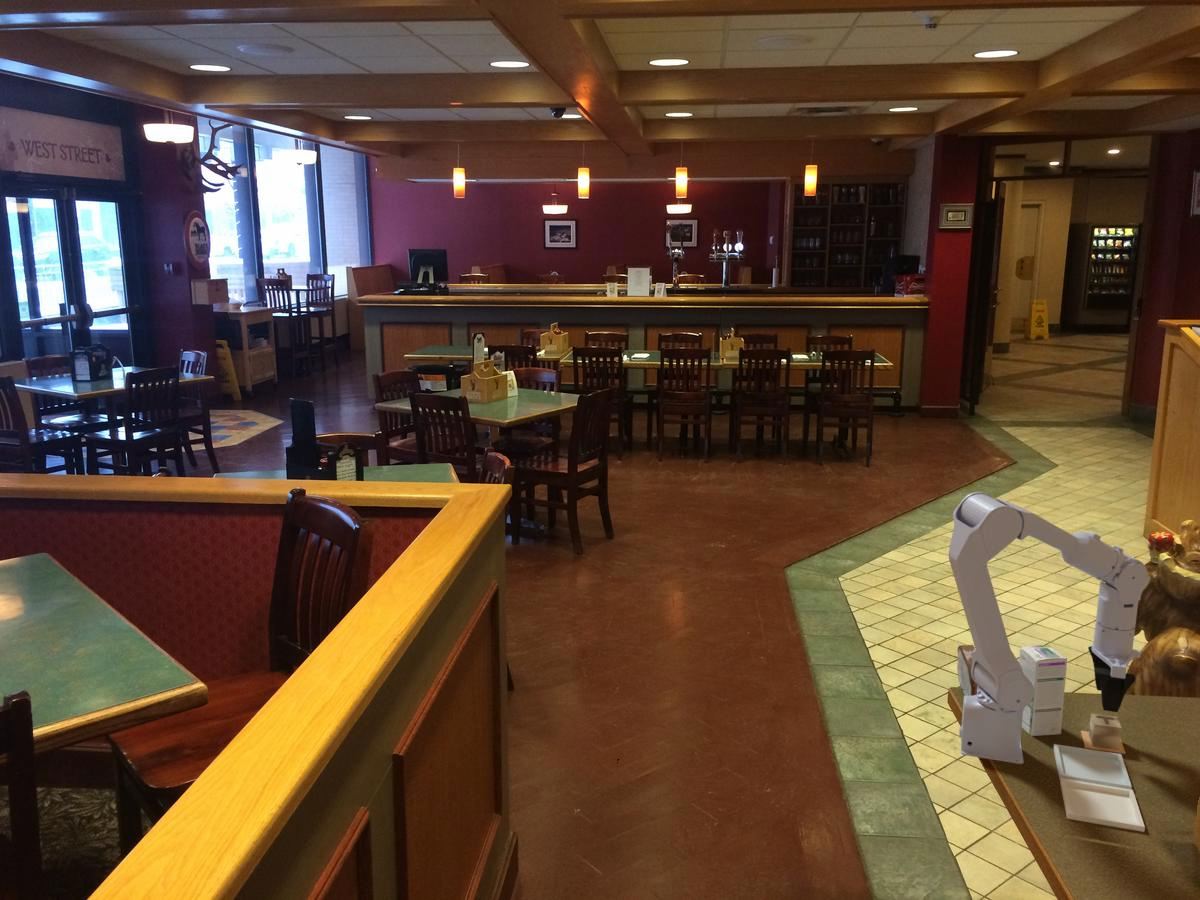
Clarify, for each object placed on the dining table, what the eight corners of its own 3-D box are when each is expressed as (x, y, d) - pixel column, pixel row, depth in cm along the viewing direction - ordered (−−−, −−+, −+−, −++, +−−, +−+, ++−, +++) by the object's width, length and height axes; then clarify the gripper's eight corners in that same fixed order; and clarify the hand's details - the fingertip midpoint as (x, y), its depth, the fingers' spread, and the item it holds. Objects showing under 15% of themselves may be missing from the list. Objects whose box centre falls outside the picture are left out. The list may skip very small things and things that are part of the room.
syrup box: (1062, 736, 162) (1070, 657, 159) (1029, 738, 162) (1036, 659, 159) (1043, 720, 168) (1050, 644, 165) (1012, 722, 167) (1018, 645, 164)
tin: (985, 714, 170) (988, 671, 168) (966, 713, 171) (970, 670, 169) (970, 678, 185) (973, 638, 183) (953, 676, 185) (956, 636, 183)
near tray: (1066, 820, 138) (1067, 813, 138) (1059, 785, 148) (1060, 778, 147) (1143, 834, 135) (1144, 826, 135) (1132, 796, 144) (1132, 789, 144)
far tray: (1059, 781, 148) (1059, 774, 148) (1053, 750, 158) (1053, 743, 157) (1130, 793, 145) (1131, 786, 145) (1120, 760, 154) (1121, 754, 154)
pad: (1084, 749, 158) (1085, 747, 158) (1080, 732, 163) (1080, 730, 163) (1125, 755, 156) (1125, 753, 156) (1119, 738, 161) (1119, 736, 161)
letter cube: (1092, 746, 158) (1094, 723, 157) (1088, 734, 162) (1091, 712, 161) (1119, 750, 157) (1121, 727, 156) (1114, 738, 160) (1117, 716, 160)
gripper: (1151, 644, 147) (1141, 724, 150) (1135, 611, 160) (1126, 685, 163) (1100, 638, 149) (1092, 716, 152) (1088, 606, 163) (1081, 679, 165)
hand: (1106, 700), depth 158 cm, fingers open, 7 cm apart
